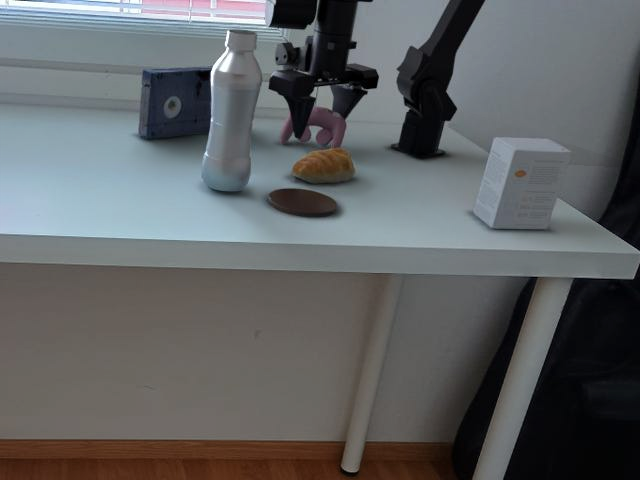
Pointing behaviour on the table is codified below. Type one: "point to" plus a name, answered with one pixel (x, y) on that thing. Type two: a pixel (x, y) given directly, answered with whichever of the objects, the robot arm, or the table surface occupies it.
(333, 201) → the walnut coaster
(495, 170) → the small box
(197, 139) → the table surface
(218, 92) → the plastic bottle
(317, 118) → the video game controller
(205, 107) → the vhs cassette tape
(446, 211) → the table surface
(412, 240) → the table surface
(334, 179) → the pastry
